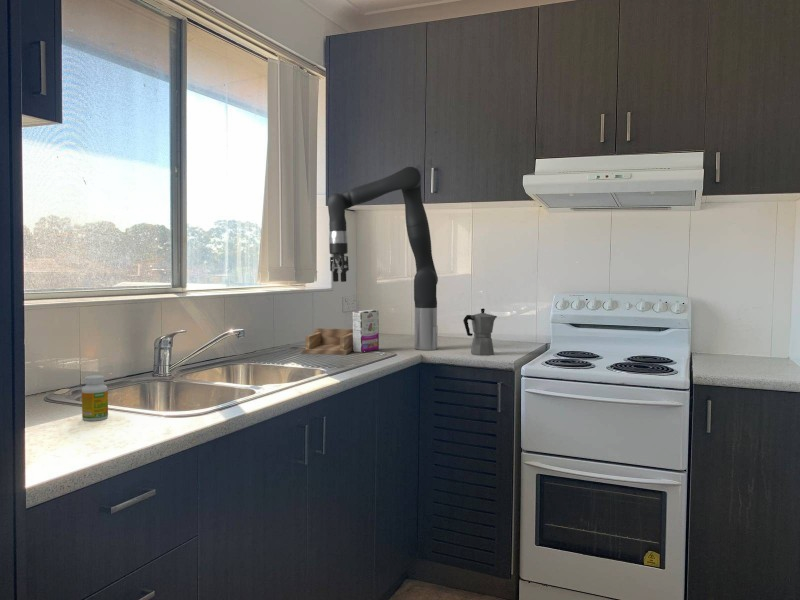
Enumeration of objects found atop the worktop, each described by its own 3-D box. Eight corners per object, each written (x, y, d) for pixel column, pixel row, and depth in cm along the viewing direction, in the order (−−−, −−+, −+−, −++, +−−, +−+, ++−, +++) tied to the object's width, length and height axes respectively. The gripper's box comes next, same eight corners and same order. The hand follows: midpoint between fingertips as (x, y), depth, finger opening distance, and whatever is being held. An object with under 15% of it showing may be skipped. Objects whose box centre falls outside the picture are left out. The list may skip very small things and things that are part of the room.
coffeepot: (489, 351, 271) (489, 307, 270) (503, 354, 263) (503, 308, 262) (456, 353, 264) (457, 308, 263) (470, 356, 256) (470, 309, 255)
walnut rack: (357, 348, 278) (357, 329, 278) (346, 354, 260) (346, 334, 259) (315, 347, 281) (315, 328, 281) (301, 353, 263) (301, 333, 262)
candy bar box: (369, 349, 277) (369, 309, 276) (379, 350, 274) (379, 310, 273) (351, 351, 268) (351, 311, 267) (361, 352, 265) (361, 311, 264)
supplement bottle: (95, 422, 150) (94, 379, 149) (76, 420, 152) (75, 377, 151) (113, 417, 155) (112, 375, 154) (95, 415, 157) (94, 373, 156)
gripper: (353, 241, 272) (354, 281, 273) (340, 243, 285) (341, 281, 286) (336, 241, 269) (337, 282, 270) (323, 243, 282) (324, 281, 282)
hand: (339, 281), depth 278 cm, fingers open, 8 cm apart
